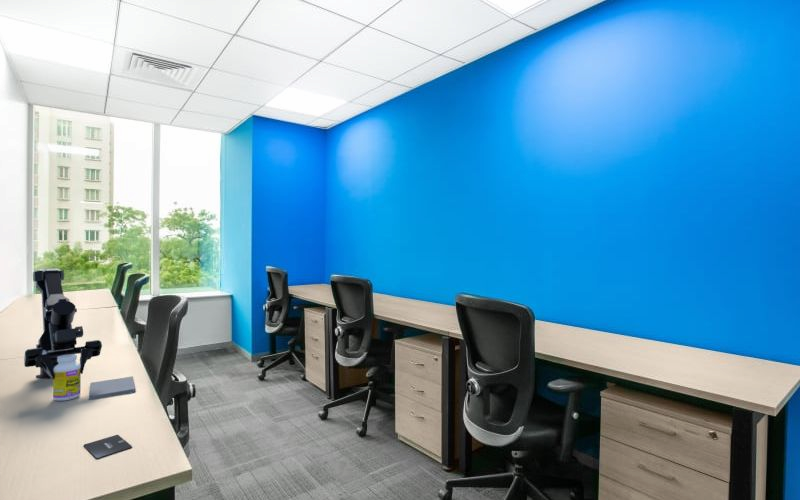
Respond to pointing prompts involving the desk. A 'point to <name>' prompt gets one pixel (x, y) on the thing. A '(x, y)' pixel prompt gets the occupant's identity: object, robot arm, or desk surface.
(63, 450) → the desk surface
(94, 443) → the solid state drive
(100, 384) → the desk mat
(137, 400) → the desk surface
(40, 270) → the robot arm
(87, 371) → the desk surface
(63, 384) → the supplement bottle
